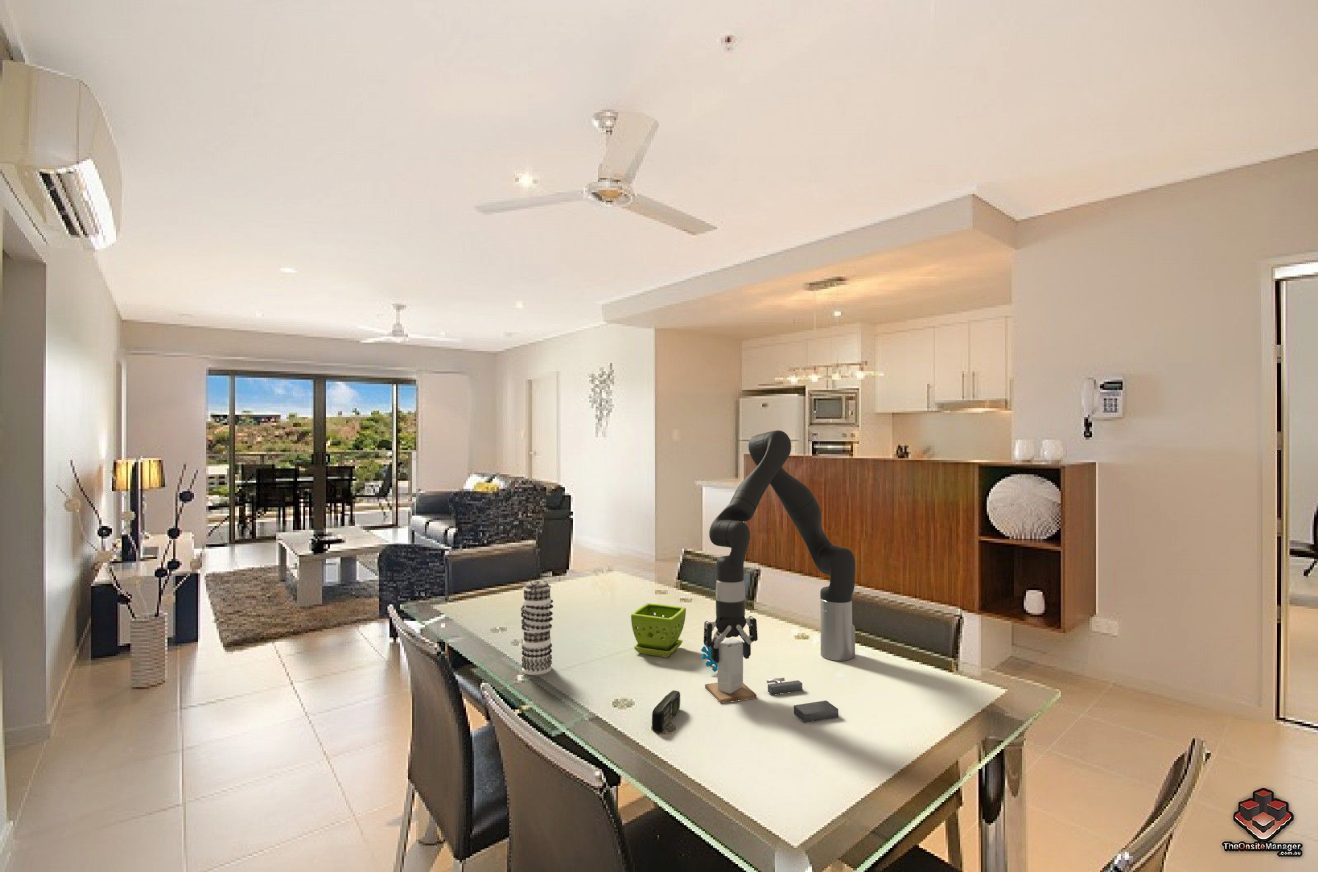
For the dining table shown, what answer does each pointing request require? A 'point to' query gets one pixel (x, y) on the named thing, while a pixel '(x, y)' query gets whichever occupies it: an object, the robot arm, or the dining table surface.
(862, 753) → the dining table surface
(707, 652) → the gear
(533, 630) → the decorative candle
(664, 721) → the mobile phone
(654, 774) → the dining table surface
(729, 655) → the skincare box
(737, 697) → the coaster
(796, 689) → the dark grey blocks
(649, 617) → the flower pot
